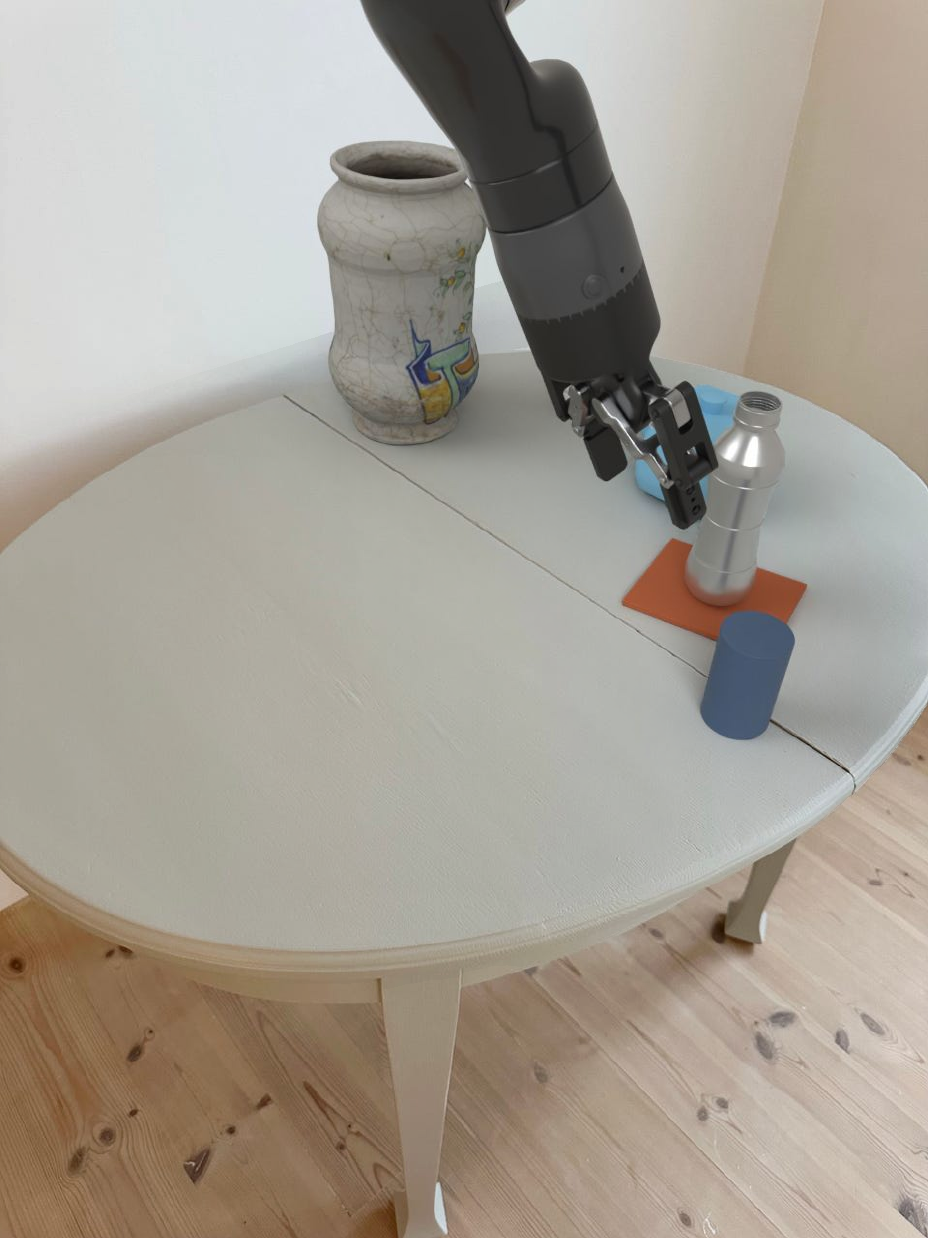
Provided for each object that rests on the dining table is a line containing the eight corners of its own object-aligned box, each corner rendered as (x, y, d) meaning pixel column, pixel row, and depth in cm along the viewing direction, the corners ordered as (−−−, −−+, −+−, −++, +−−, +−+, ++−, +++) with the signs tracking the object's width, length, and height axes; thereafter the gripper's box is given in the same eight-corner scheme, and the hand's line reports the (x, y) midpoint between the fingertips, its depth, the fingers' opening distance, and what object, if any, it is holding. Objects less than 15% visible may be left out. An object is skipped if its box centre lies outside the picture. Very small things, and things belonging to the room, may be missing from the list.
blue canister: (777, 707, 80) (804, 626, 74) (755, 750, 76) (781, 668, 71) (714, 682, 82) (735, 601, 76) (690, 722, 79) (709, 640, 73)
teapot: (649, 436, 114) (664, 345, 107) (784, 494, 105) (811, 399, 98) (586, 475, 107) (597, 381, 100) (725, 541, 98) (748, 443, 91)
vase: (507, 410, 119) (521, 150, 99) (427, 474, 107) (425, 193, 88) (389, 373, 126) (380, 124, 106) (302, 430, 114) (274, 161, 95)
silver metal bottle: (680, 610, 89) (721, 417, 76) (680, 567, 94) (719, 379, 81) (751, 619, 88) (805, 425, 75) (747, 575, 93) (797, 386, 80)
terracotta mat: (806, 589, 92) (807, 584, 92) (765, 659, 85) (767, 654, 84) (671, 542, 98) (671, 537, 98) (621, 604, 90) (622, 599, 90)
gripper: (710, 262, 48) (768, 504, 58) (561, 220, 59) (632, 430, 69) (591, 343, 47) (672, 574, 57) (462, 285, 58) (549, 488, 68)
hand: (650, 495), depth 63 cm, fingers open, 8 cm apart
